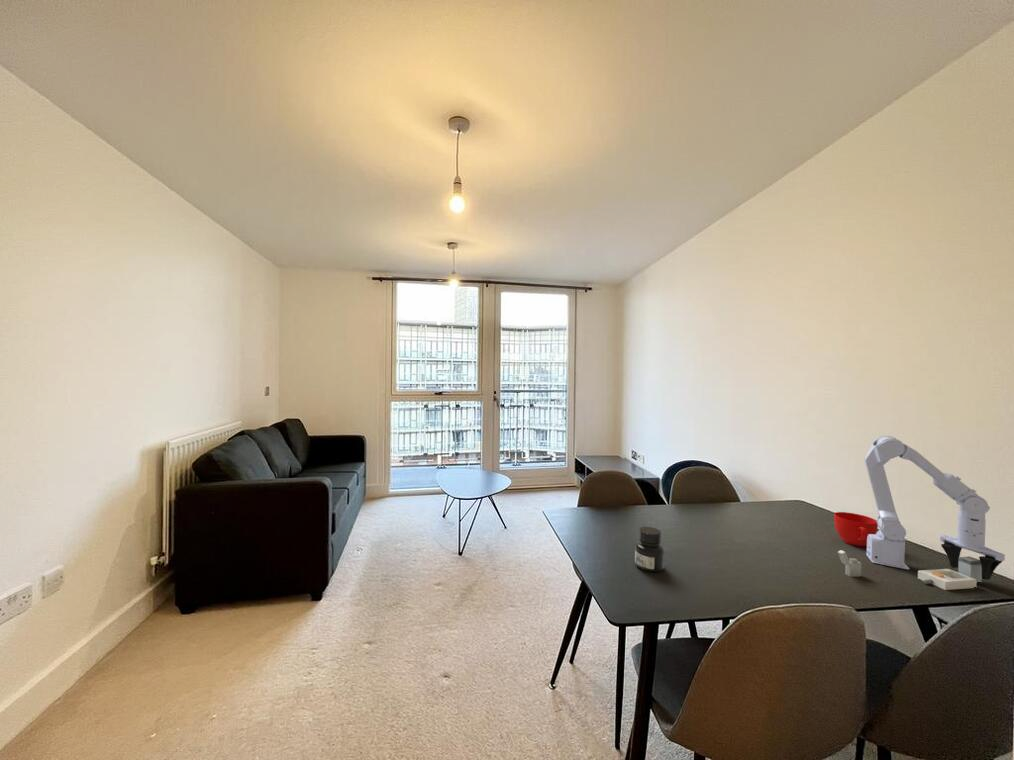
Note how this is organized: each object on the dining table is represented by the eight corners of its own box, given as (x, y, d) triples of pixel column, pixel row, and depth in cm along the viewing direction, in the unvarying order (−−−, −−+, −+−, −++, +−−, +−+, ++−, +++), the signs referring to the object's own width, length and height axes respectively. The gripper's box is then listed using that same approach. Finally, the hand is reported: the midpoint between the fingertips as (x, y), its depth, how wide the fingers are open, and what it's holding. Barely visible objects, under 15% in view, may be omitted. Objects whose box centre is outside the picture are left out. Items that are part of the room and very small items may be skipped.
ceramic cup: (841, 549, 148) (842, 522, 148) (829, 533, 163) (830, 509, 163) (887, 557, 142) (887, 529, 142) (870, 540, 157) (871, 515, 157)
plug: (970, 583, 125) (970, 561, 124) (957, 578, 127) (958, 557, 127) (981, 582, 125) (982, 560, 125) (969, 577, 128) (969, 556, 128)
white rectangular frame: (938, 590, 119) (939, 580, 119) (911, 578, 126) (912, 569, 126) (976, 587, 122) (976, 577, 122) (947, 576, 129) (948, 566, 129)
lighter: (856, 573, 129) (856, 549, 129) (861, 576, 127) (862, 551, 127) (836, 574, 128) (837, 549, 128) (841, 576, 126) (842, 552, 126)
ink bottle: (628, 561, 133) (629, 526, 133) (649, 558, 136) (650, 523, 136) (648, 575, 124) (649, 537, 124) (670, 571, 127) (671, 534, 127)
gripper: (1013, 539, 120) (1011, 583, 120) (952, 522, 134) (951, 561, 134) (994, 540, 119) (993, 585, 119) (935, 522, 133) (934, 562, 133)
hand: (969, 572), depth 126 cm, fingers open, 7 cm apart
